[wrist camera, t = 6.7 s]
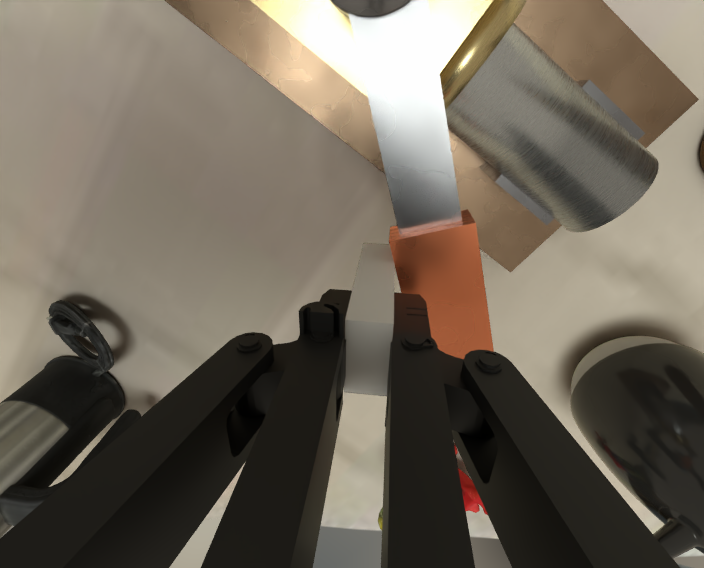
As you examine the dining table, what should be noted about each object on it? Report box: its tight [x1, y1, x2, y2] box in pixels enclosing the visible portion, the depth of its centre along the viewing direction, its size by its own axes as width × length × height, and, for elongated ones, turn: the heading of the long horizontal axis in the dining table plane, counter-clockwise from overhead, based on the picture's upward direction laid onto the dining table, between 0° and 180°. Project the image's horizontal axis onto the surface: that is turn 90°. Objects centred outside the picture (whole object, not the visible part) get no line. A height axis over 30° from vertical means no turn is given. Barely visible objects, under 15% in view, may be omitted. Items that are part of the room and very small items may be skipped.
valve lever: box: [330, 0, 494, 359], centre depth 13 cm, size 17×4×2 cm, turn 16°
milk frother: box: [0, 300, 141, 538], centre depth 32 cm, size 14×16×15 cm
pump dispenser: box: [571, 336, 704, 558], centre depth 24 cm, size 10×10×15 cm
